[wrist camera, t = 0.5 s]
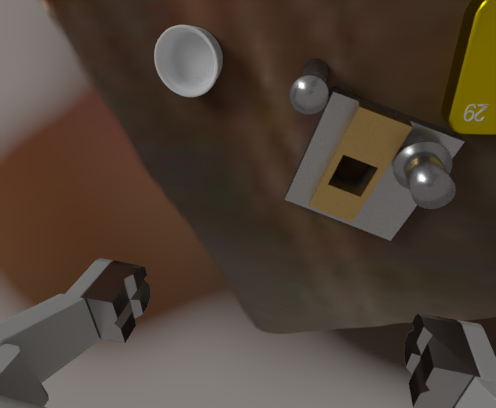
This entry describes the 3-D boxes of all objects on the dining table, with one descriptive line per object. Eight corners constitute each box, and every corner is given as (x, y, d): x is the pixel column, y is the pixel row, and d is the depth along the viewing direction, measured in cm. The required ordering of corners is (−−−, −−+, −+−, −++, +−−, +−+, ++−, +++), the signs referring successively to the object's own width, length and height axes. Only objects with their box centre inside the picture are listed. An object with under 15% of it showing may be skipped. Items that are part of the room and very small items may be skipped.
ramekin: (207, 9, 44) (195, 11, 41) (238, 73, 48) (229, 80, 44) (156, 41, 48) (141, 45, 44) (188, 99, 51) (177, 107, 48)
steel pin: (307, 51, 44) (298, 69, 34) (336, 62, 44) (335, 83, 34) (296, 81, 46) (284, 106, 36) (323, 91, 46) (318, 119, 36)
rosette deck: (333, 87, 46) (331, 114, 36) (459, 135, 45) (492, 176, 35) (286, 192, 56) (275, 235, 46) (388, 231, 55) (398, 284, 46)
